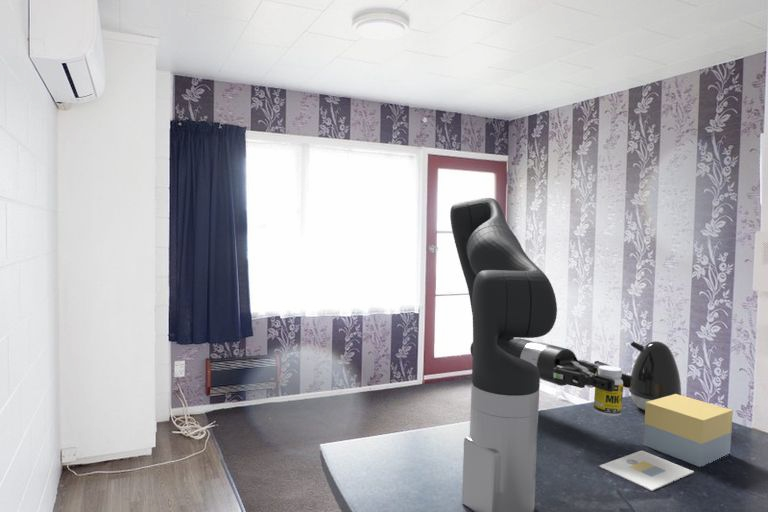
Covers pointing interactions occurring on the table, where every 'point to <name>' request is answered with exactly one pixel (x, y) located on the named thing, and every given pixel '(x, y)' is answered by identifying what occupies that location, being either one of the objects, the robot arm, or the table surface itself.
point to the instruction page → (646, 470)
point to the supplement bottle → (609, 393)
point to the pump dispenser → (654, 374)
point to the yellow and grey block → (688, 429)
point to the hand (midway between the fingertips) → (622, 384)
